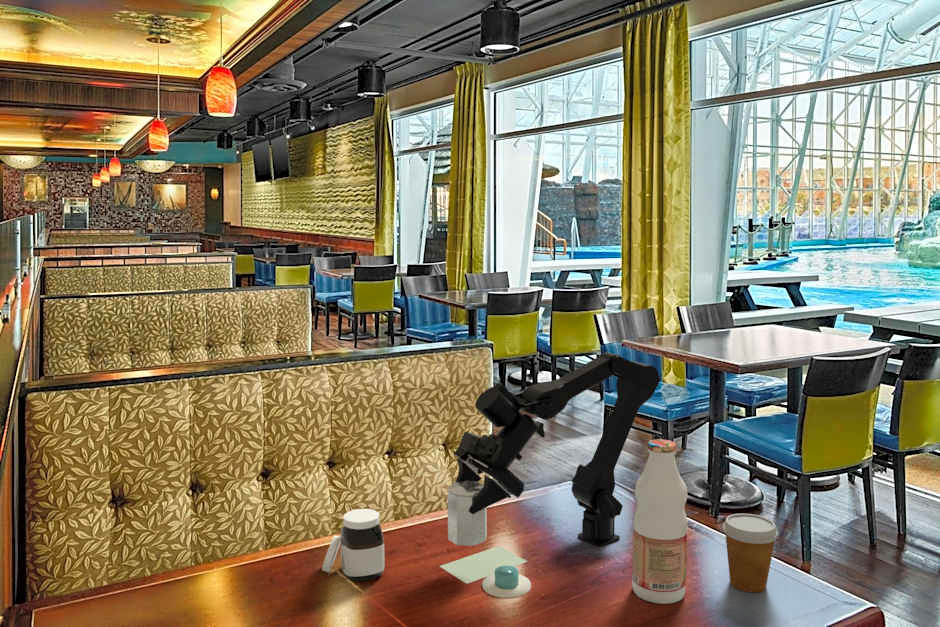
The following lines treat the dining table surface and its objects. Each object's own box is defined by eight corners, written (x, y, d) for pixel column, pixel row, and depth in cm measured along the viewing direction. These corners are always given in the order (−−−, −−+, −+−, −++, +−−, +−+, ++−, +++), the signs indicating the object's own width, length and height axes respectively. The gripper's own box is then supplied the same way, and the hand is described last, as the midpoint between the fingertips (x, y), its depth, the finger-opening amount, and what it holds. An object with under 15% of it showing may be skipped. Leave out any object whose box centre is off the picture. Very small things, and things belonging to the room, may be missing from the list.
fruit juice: (621, 589, 138) (623, 441, 134) (655, 575, 143) (658, 432, 140) (661, 611, 130) (665, 454, 127) (696, 594, 136) (701, 444, 132)
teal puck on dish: (509, 571, 146) (509, 555, 145) (541, 589, 138) (541, 572, 138) (472, 584, 140) (472, 568, 140) (503, 604, 133) (503, 587, 133)
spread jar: (389, 580, 142) (388, 521, 141) (330, 592, 138) (328, 531, 136) (372, 555, 153) (371, 500, 152) (317, 565, 149) (315, 508, 147)
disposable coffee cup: (774, 576, 142) (776, 515, 141) (776, 600, 134) (779, 536, 132) (721, 569, 146) (723, 509, 144) (720, 592, 137) (722, 529, 135)
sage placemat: (499, 547, 156) (499, 545, 156) (527, 562, 149) (527, 561, 149) (439, 567, 147) (439, 566, 147) (466, 585, 140) (466, 583, 140)
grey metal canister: (471, 526, 150) (470, 472, 148) (493, 538, 144) (493, 481, 143) (442, 536, 146) (440, 479, 144) (463, 548, 140) (462, 490, 138)
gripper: (462, 405, 152) (413, 467, 148) (509, 428, 135) (455, 498, 132) (496, 438, 157) (449, 499, 153) (546, 463, 140) (495, 532, 136)
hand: (460, 505), depth 143 cm, fingers closed on grey metal canister, 7 cm apart
